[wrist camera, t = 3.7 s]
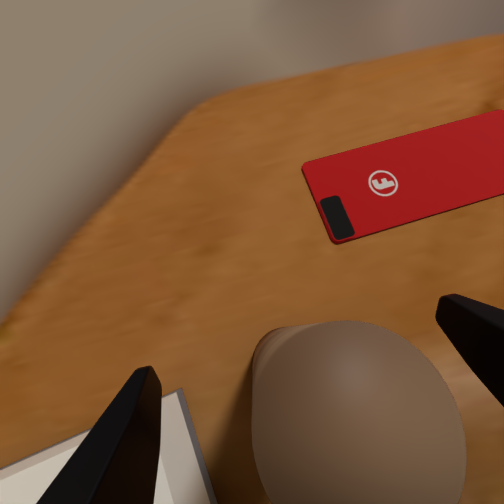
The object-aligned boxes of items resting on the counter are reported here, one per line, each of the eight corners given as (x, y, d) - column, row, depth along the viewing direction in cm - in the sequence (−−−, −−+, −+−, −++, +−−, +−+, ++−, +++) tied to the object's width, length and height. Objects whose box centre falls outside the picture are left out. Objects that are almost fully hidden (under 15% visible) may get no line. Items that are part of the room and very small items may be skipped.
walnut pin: (333, 382, 14) (512, 499, 4) (269, 413, 14) (308, 616, 4) (302, 316, 15) (393, 291, 5) (242, 343, 14) (220, 368, 5)
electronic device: (497, 113, 19) (298, 167, 18) (504, 106, 19) (300, 162, 17) (545, 182, 18) (331, 247, 16) (554, 177, 17) (334, 244, 16)
